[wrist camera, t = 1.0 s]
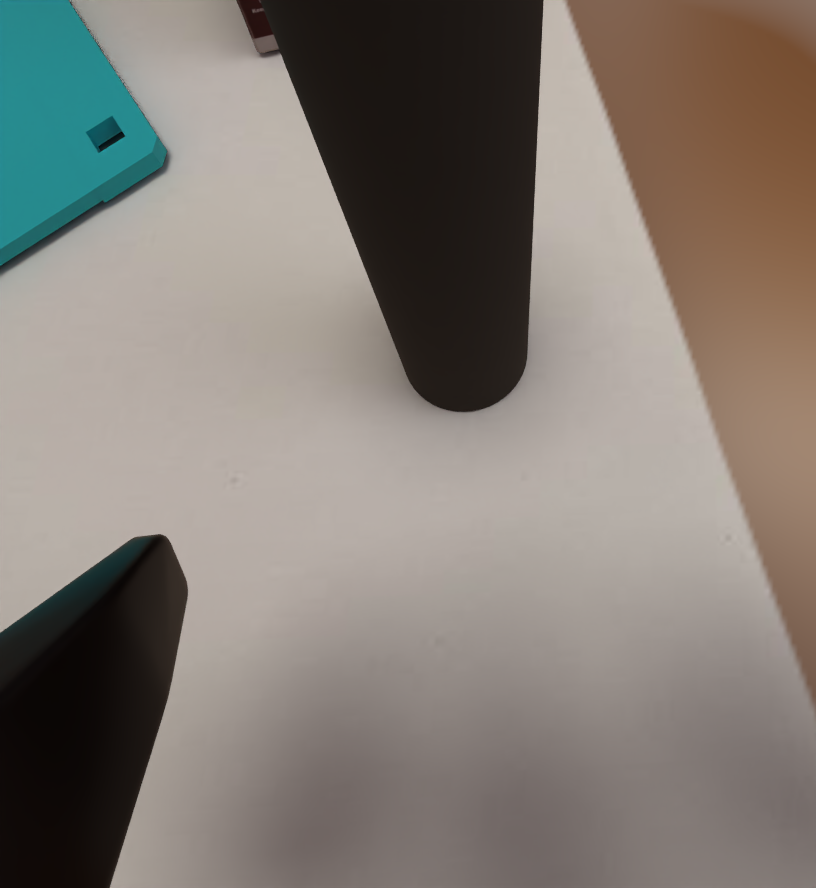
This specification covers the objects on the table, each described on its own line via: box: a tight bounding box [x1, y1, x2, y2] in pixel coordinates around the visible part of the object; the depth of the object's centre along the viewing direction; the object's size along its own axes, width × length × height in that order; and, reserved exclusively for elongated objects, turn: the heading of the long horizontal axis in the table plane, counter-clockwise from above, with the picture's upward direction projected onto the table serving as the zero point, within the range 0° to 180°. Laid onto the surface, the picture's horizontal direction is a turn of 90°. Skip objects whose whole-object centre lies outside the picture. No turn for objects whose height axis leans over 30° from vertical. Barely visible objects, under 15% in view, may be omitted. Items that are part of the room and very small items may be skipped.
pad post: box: [260, 0, 543, 411], centre depth 15 cm, size 4×4×20 cm
